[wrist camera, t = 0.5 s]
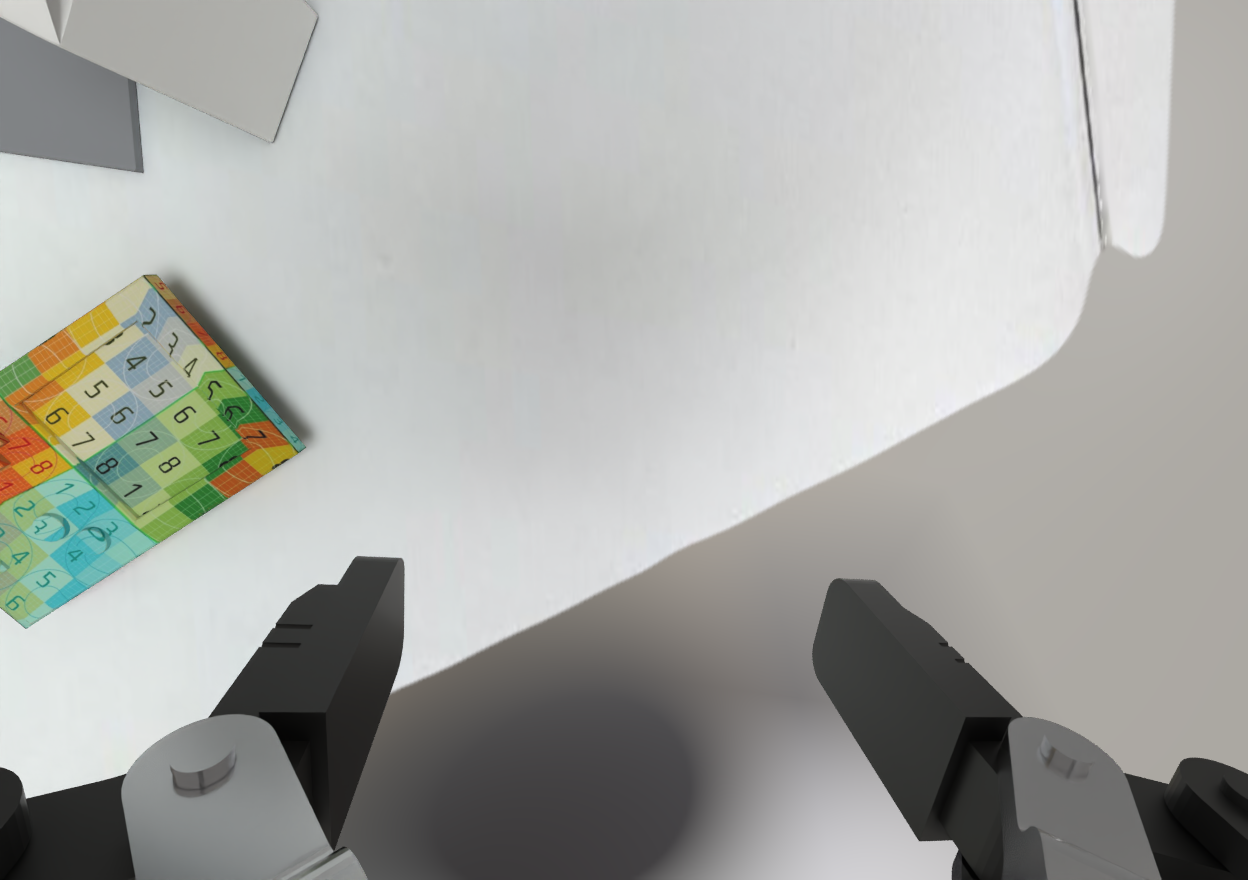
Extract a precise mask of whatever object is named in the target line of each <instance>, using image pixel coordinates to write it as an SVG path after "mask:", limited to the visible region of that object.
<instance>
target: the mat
mask: <svg viewBox="0 0 1248 880" xmlns="http://www.w3.org/2000/svg"><path fill="white" fill-rule="evenodd" d="M0 152H5V153H12V154H19V155H25V156H32V157H39V158H46V159H53V160H60V161H66V162H73V163H80V164H87V165H94V166H100V167H107V168H114V169H121V170H128V171H134V172H141V173H143V163H142V151H141V140H140V128H139V117H138V105H137V94H136V82H135V81H133V80H131V79H129V78H126V77H124V76H122V75H120V74H117V73H115V72H113V71H111V70H109V69H106V68H104V67H102V66H100V65H98V64H95V63H93V62H91V61H89V60H87V59H84V58H82V57H80V56H78V55H76V54H73V53H71V52H69V51H67V50H65V49H63V48H60V47H58V46H56V45H54V44H52V43H50V42H48V41H46V40H44V39H42V38H40V37H38V36H36V35H34V34H32V33H30V32H28V31H26V30H24V29H22V28H20V27H18V26H16V25H14V24H12V23H10V22H9V21H7V20H5V19H3V18H1V17H0Z"/></svg>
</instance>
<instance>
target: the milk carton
mask: <svg viewBox="0 0 1248 880" xmlns="http://www.w3.org/2000/svg"><path fill="white" fill-rule="evenodd" d="M0 17H1V18H3V19H5V20H7V21H9V22H10V23H12V24H14V25H16V26H18V27H20V28H22V29H24V30H26V31H28V32H30V33H32V34H34V35H36V36H38V37H40V38H42V39H44V40H46V41H48V42H50V43H52V44H54V45H56V46H58V47H60V48H63V49H65V50H67V51H69V52H71V53H73V54H76V55H78V56H80V57H82V58H84V59H87V60H89V61H91V62H93V63H95V64H98V65H100V66H102V67H104V68H106V69H109V70H111V71H113V72H115V73H117V74H120V75H122V76H124V77H126V78H129V79H131V80H133V81H135V82H137V83H140V84H142V85H144V86H146V87H148V88H151V89H153V90H155V91H157V92H159V93H162V94H164V95H166V96H168V97H171V98H173V99H175V100H177V101H179V102H182V103H184V104H186V105H188V106H190V107H193V108H195V109H197V110H199V111H201V112H204V113H206V114H208V115H210V116H213V117H215V118H217V119H219V120H221V121H224V122H226V123H228V124H230V125H232V126H235V127H237V128H239V129H241V130H243V131H246V132H248V133H250V134H252V135H255V136H257V137H259V138H261V139H263V140H266V141H268V142H271V143H272V142H273V140H274V137H275V135H276V132H277V129H278V126H279V124H280V121H281V118H282V115H283V112H284V110H285V107H286V104H287V101H288V98H289V96H290V93H291V90H292V87H293V84H294V82H295V79H296V76H297V73H298V70H299V68H300V65H301V62H302V59H303V57H304V54H305V51H306V48H307V45H308V43H309V40H310V37H311V34H312V31H313V29H314V26H315V23H316V20H317V17H318V16H317V14H316V13H315V12H314V11H313V9H312V8H311V7H310V6H309V5H308V4H307V3H306V2H305V1H304V0H0Z"/></svg>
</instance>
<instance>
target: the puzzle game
mask: <svg viewBox="0 0 1248 880" xmlns="http://www.w3.org/2000/svg"><path fill="white" fill-rule="evenodd" d="M305 448H306V447H305V445H304V444H303V443H302V442H301V441H300V440H299V438H298V437H297V436H296V435H295V434H294V433H293V432H292V430H291V429H290V428H289V427H288V426H287V425H286V423H285V422H284V421H283V420H282V419H281V418H280V417H279V415H278V414H277V413H276V412H275V411H274V410H273V408H272V407H271V406H270V405H269V404H268V403H267V402H266V400H265V399H264V398H263V397H262V396H261V395H260V393H259V392H258V391H257V390H256V389H255V388H254V387H253V385H252V384H251V383H250V382H249V381H248V380H247V378H246V377H245V376H244V375H243V374H242V373H241V372H240V370H239V369H238V368H237V367H236V366H235V365H234V363H233V362H232V361H231V360H230V359H229V358H228V357H227V355H226V354H225V353H224V352H223V351H222V350H221V348H220V347H219V346H218V345H217V344H216V343H215V342H214V340H213V339H212V338H211V337H210V336H209V335H208V333H207V332H206V331H205V330H204V329H203V328H202V327H201V325H200V324H199V323H198V322H197V321H196V320H195V318H194V317H193V316H192V315H191V314H190V313H189V312H188V310H187V309H186V308H185V307H184V306H183V305H182V303H181V302H180V301H179V300H178V299H177V298H176V297H175V295H174V294H173V293H172V292H171V291H170V290H169V288H168V287H167V286H166V285H165V284H164V283H163V282H162V280H161V279H160V278H159V277H158V276H157V275H143V276H142V277H140V278H139V279H137V280H136V281H134V282H133V283H131V284H130V285H128V286H127V287H125V288H124V289H122V290H121V291H119V292H118V293H116V294H115V295H113V296H112V297H110V298H109V299H107V300H106V301H104V302H103V303H101V304H100V305H98V306H97V307H95V308H94V309H92V310H91V311H89V312H88V313H87V314H85V315H84V316H82V317H81V318H79V319H78V320H76V321H75V322H73V323H72V324H70V325H69V326H67V327H66V328H64V329H63V330H61V331H60V332H58V333H57V334H55V335H54V336H52V337H51V338H49V339H48V340H46V341H45V342H43V343H42V344H40V345H39V346H37V347H36V348H34V349H33V350H31V351H30V352H28V353H27V354H25V355H24V356H22V357H21V358H19V359H18V360H16V361H15V362H13V363H12V364H10V365H9V366H8V367H6V368H5V369H3V370H2V371H0V608H1V609H2V610H4V611H5V612H6V613H7V614H8V615H10V616H11V617H12V618H13V619H14V620H16V621H17V622H18V623H19V624H21V625H22V626H23V627H24V628H25V629H26V628H28V627H30V626H31V625H33V624H34V623H36V622H37V621H39V620H40V619H42V618H44V617H45V616H47V615H48V614H50V613H51V612H53V611H54V610H56V609H57V608H59V607H61V606H62V605H64V604H65V603H67V602H68V601H70V600H71V599H73V598H75V597H76V596H78V595H79V594H81V593H82V592H84V591H85V590H87V589H89V588H90V587H92V586H93V585H95V584H96V583H98V582H99V581H101V580H103V579H104V578H106V577H107V576H109V575H110V574H112V573H113V572H115V571H116V570H118V569H120V568H121V567H123V566H124V565H126V564H127V563H129V562H130V561H132V560H134V559H135V558H137V557H138V556H140V555H141V554H143V553H144V552H146V551H148V550H149V549H151V548H152V547H154V546H155V545H157V544H158V543H160V542H161V541H163V540H165V539H166V538H168V537H169V536H171V535H172V534H174V533H175V532H177V531H179V530H180V529H182V528H183V527H185V526H186V525H188V524H189V523H191V522H193V521H194V520H196V519H197V518H199V517H200V516H202V515H203V514H205V513H207V512H208V511H210V510H211V509H213V508H214V507H216V506H217V505H219V504H220V503H222V502H224V501H225V500H227V499H228V498H230V497H231V496H233V495H234V494H236V493H238V492H239V491H241V490H242V489H244V488H245V487H247V486H248V485H250V484H252V483H253V482H255V481H256V480H258V479H259V478H261V477H262V476H264V475H265V474H267V473H269V472H270V471H272V470H273V469H275V468H276V467H278V466H279V465H281V464H283V463H284V462H286V461H287V460H289V459H290V458H292V457H293V456H295V455H297V454H298V453H300V452H301V451H302V450H304V449H305Z"/></svg>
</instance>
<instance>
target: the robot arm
mask: <svg viewBox="0 0 1248 880" xmlns="http://www.w3.org/2000/svg"><path fill="white" fill-rule="evenodd" d="M403 639H404V562H403V559H402V558H388V557H365V556H357V557H355V558H354V560H353V561H352V563H351V564H350V566H349V568H348V569H347V571H346V572H345V574H344V576H343V577H342V579H341V581H340V582H339V584H338V585H323V584H318V585H317V586H315V587H314V588H312V589H311V590H309V591H308V592H306V593H305V594H303V595H302V596H300V597H299V598H297V599H296V600H294V601H293V602H291V604H290V605H289V606H288V608H287V609H286V611H285V612H284V613H283V615H282V616H281V618H280V619H279V620H278V622H277V623H276V627H275V628H273V629H272V630H271V631H270V633H269V634H268V636H267V637H266V638H265V640H264V641H263V644H262V647H259V648H258V649H257V651H256V652H255V654H254V655H253V656H252V658H251V659H250V661H249V662H248V663H247V665H246V666H245V667H244V669H243V670H242V672H241V673H240V674H239V676H238V677H237V679H236V680H235V681H234V683H233V684H232V685H231V687H230V688H229V690H228V691H227V692H226V694H225V695H224V697H223V698H222V699H221V701H220V702H219V703H218V705H217V706H216V708H215V709H214V710H213V712H212V713H211V715H210V716H209V717H208V718H206V719H203V720H200V721H197V722H194V723H191V724H189V725H186V726H184V727H182V728H179V729H177V730H176V731H174V732H172V733H170V734H168V735H166V736H165V737H163V738H162V739H160V740H159V741H157V742H156V743H155V744H153V745H152V746H151V747H150V748H148V749H147V750H146V751H145V752H144V753H143V754H142V755H141V756H140V757H139V758H138V759H137V760H136V761H135V762H134V764H133V765H132V766H131V768H130V769H129V771H128V773H127V774H124V775H121V776H118V777H114V778H111V779H107V780H103V781H99V782H95V783H91V784H86V785H82V786H78V787H74V788H70V789H65V790H61V791H57V792H53V793H49V794H44V795H40V796H36V797H32V798H28V799H26V797H25V793H24V789H23V785H22V782H21V780H20V779H19V777H18V776H17V775H16V774H15V773H14V772H12V771H10V770H7V769H5V768H1V767H0V880H368V879H367V877H366V875H365V873H364V871H363V869H362V868H361V866H360V864H359V862H358V860H357V859H356V857H355V856H354V854H353V853H352V852H351V851H350V850H349V849H348V848H347V847H342V848H340V849H339V850H337V851H335V852H334V850H335V848H336V845H337V842H338V839H339V836H340V833H341V830H342V828H343V825H344V822H345V819H346V816H347V813H348V811H349V808H350V805H351V802H352V800H353V796H354V794H355V791H356V788H357V785H358V783H359V780H360V777H361V774H362V771H363V768H364V766H365V763H366V760H367V757H368V754H369V751H370V748H371V746H372V743H373V740H374V737H375V734H376V732H377V729H378V726H379V723H380V720H381V717H382V715H383V712H384V709H385V706H386V703H387V700H388V697H389V695H390V692H391V689H392V686H393V684H394V681H395V678H396V675H397V672H398V669H399V665H400V660H401V655H402V649H403ZM812 655H813V656H812V657H813V665H814V669H815V673H816V676H817V678H818V680H819V682H820V683H821V685H822V686H823V688H824V690H825V691H826V693H827V695H828V696H829V698H830V699H831V701H832V703H833V704H834V706H835V707H836V709H837V710H838V712H839V714H840V715H841V717H842V719H843V720H844V722H845V723H846V725H847V726H848V728H849V730H850V731H851V733H852V735H853V736H854V738H855V739H856V741H857V743H858V744H859V746H860V747H861V749H862V751H863V752H864V754H865V755H866V757H867V758H868V760H869V762H870V763H871V765H872V767H873V768H874V770H875V771H876V773H877V775H878V776H879V778H880V779H881V781H882V783H883V784H884V786H885V787H886V789H887V790H888V792H889V794H890V795H891V797H892V798H893V800H894V802H895V803H896V805H897V807H898V808H899V810H900V811H901V813H902V815H903V816H904V818H905V819H906V821H907V823H908V824H909V826H910V827H911V829H912V831H913V832H914V834H915V835H916V837H917V839H918V840H919V841H942V840H953V842H954V843H955V845H956V846H957V847H958V852H957V855H956V857H955V859H954V862H953V866H952V880H1248V774H1246V773H1244V772H1242V771H1240V770H1237V769H1235V768H1233V767H1230V766H1228V765H1225V764H1222V763H1219V762H1216V761H1212V760H1208V759H1203V758H1187V759H1184V760H1182V761H1181V762H1180V764H1179V766H1178V768H1177V770H1176V772H1175V773H1174V775H1173V778H1172V779H1171V781H1170V783H1169V784H1166V783H1162V782H1158V781H1154V780H1150V779H1146V778H1142V777H1138V776H1133V775H1130V774H1126V773H1123V771H1122V770H1121V768H1120V767H1119V766H1118V765H1117V764H1116V763H1115V761H1114V760H1113V759H1112V758H1111V757H1110V756H1109V755H1108V754H1107V753H1105V752H1104V751H1103V750H1102V749H1100V748H1099V747H1098V746H1097V745H1095V744H1094V743H1092V742H1091V741H1089V740H1088V739H1086V738H1085V737H1083V736H1081V735H1080V734H1078V733H1076V732H1074V731H1072V730H1070V729H1068V728H1066V727H1063V726H1061V725H1059V724H1056V723H1053V722H1051V721H1047V720H1044V719H1039V718H1033V717H1023V716H1021V714H1020V713H1019V712H1017V710H1015V708H1013V707H1012V706H1011V705H1010V704H1009V703H1008V702H1007V701H1006V700H1005V699H1004V698H1003V697H1002V696H1001V695H1000V694H999V693H998V692H997V691H996V690H995V689H994V688H993V687H992V686H991V685H990V684H989V683H988V682H987V681H986V680H985V679H984V678H983V677H982V676H981V675H980V674H979V673H978V672H977V671H976V670H975V669H974V668H973V667H972V666H971V665H970V664H969V663H965V662H964V658H963V657H962V656H961V655H960V654H959V653H958V652H957V651H956V650H955V649H954V648H953V647H949V646H948V642H947V641H945V639H944V638H943V637H942V636H941V635H940V634H939V633H937V631H936V630H935V629H934V628H933V627H932V626H931V625H929V624H928V623H927V622H925V621H924V620H922V619H921V618H919V617H918V616H916V615H914V614H912V613H911V612H910V611H908V610H907V609H905V608H903V607H902V606H901V605H900V604H899V603H898V602H897V601H896V599H895V598H893V596H892V595H890V594H889V592H888V591H886V589H885V588H884V587H883V586H881V584H880V583H878V582H877V581H875V580H863V579H861V580H860V579H840V578H839V579H835V580H833V581H832V583H831V584H830V586H829V588H828V591H827V595H826V599H825V602H824V606H823V610H822V614H821V618H820V621H819V625H818V629H817V633H816V637H815V640H814V644H813V653H812Z"/></svg>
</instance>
